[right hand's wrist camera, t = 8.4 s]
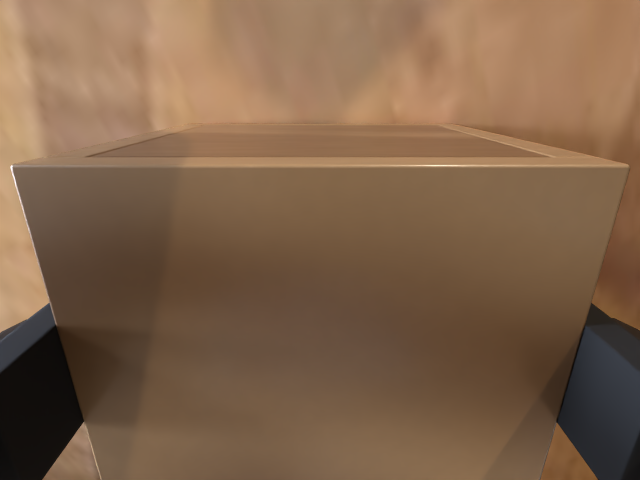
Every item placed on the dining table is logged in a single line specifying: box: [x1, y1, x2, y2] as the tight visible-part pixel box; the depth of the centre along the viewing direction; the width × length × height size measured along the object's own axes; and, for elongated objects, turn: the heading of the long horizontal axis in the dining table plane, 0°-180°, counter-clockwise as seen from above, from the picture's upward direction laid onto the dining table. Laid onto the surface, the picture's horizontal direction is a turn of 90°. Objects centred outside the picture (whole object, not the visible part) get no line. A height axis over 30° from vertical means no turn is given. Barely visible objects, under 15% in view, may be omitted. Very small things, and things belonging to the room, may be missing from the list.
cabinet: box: [11, 124, 630, 480], centre depth 15 cm, size 21×11×10 cm, turn 0°
